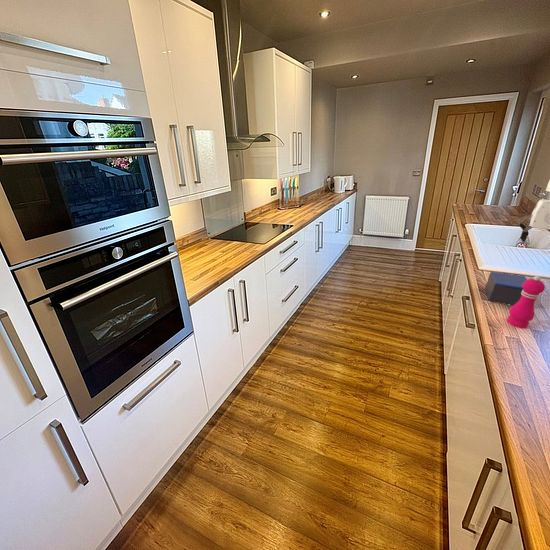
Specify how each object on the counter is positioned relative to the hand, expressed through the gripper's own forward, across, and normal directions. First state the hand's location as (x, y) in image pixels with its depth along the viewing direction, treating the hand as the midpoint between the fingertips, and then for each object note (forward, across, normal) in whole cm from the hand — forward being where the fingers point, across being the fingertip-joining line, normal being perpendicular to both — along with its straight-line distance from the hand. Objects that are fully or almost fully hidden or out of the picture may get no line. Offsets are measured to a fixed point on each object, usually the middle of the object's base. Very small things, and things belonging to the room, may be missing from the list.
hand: (538, 242), depth 110 cm
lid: (+20, -2, +7) cm, 21 cm away
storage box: (+28, -3, +7) cm, 29 cm away
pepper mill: (+28, -1, -15) cm, 32 cm away
